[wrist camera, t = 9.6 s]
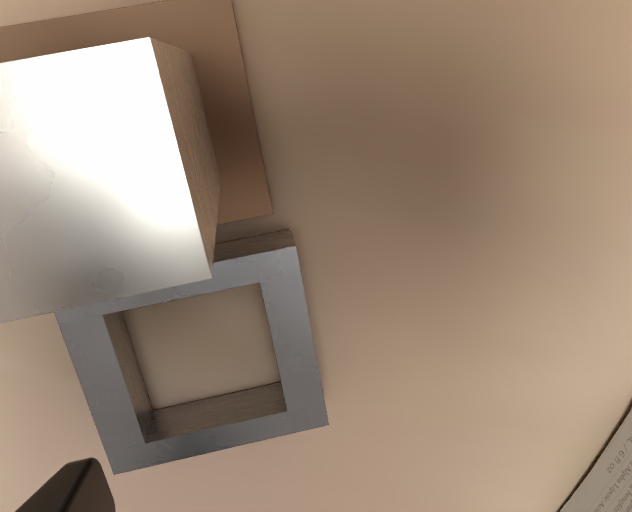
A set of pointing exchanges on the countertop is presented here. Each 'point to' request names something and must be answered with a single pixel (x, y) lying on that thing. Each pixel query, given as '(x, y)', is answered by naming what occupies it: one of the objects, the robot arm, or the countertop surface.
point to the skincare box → (608, 477)
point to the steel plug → (103, 177)
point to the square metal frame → (212, 413)
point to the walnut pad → (211, 71)
